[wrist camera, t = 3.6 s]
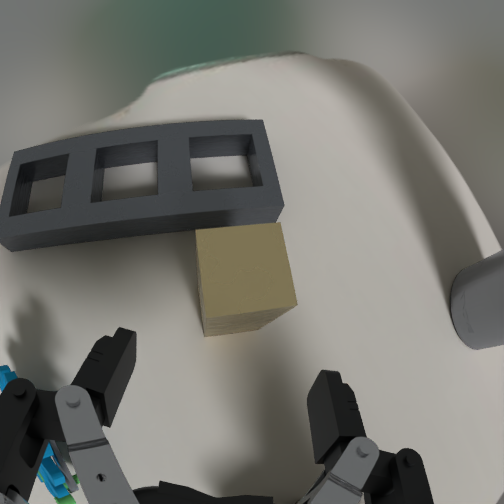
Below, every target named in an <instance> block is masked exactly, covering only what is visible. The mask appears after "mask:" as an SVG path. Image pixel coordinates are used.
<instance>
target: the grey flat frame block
mask: <svg viewBox="0 0 504 504" xmlns="http://www.w3.org/2000/svg"><path fill="white" fill-rule="evenodd" d="M236 155H247V158H248V163H249V168H250V173H251V178H252V183H253V187H242V188H227V189H213V190H201V191H193V188H192V176H191V164H190V158H203V157H218V156H236ZM149 162H158V195H150V196H141V197H133V198H125V199H117V200H109V201H102V190H103V178H104V168H110V167H117V166H124V165H132V164H140V163H149ZM62 175H66V176H65V182H64V188H63V195H62V203H61V208H56V209H50V210H44V211H39V212H33V213H28V214H27V208H28V203H29V197H30V192H31V187H32V182H33V181H37V180H42V179H47V178H51V177H57V176H62ZM283 207H284V201H283V197H282V193H281V189H280V185H279V181H278V177H277V173H276V169H275V165H274V161H273V157H272V153H271V149H270V145H269V141H268V138H267V134H266V130H265V126H264V122H263V120H220V121H200V122H186V123H173V124H163V125H153V126H144V127H136V128H129V129H121V130H115V131H108V132H102V133H96V134H90V135H85V136H80V137H75V138H70V139H65V140H60V141H56V142H51V143H47V144H43V145H38V146H34V147H30V148H27V149H23V150H19V151H16V152H14V154H13V158H12V161H11V164H10V168H9V172H8V175H7V179H6V183H5V187H4V192H3V196H2V201H1V205H0V244H2V245H3V246H4V247H6V248H7V249H8V250H10V251H11V252H14V251H21V250H28V249H36V248H43V247H50V246H58V245H66V244H73V243H81V242H89V241H98V240H106V239H114V238H123V237H132V236H141V235H150V234H159V233H169V232H178V231H188V230H198V229H209V228H219V227H230V226H241V225H253V224H265V223H276V221H277V219H278V217H279V215H280V213H281V211H282V209H283Z"/></svg>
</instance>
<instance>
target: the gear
mask: <svg viewBox="0 0 504 504" xmlns="http://www.w3.org/2000/svg"><path fill="white" fill-rule="evenodd" d="M16 378H17V375H16V373H15V371H12V372H11V370H10V368H9V367H8V365H4V366H0V389H1V391H3V389H4V388H5V386H6V385H7V383H8V382H10V381H11V380H13V379H16ZM50 456H52V457H53V459H54V461H55V463H56V464H55V463H54V462H53V460H52V459H51V457H50ZM37 476H38V478H39V479H40V481H41V482H44V483H45V485H46V487H47V489H48V490H49V492H50V493H51V494H52V495H53V496H54V497H55V498H54V499H55V500H56V502H57V504H76V502H75V500H74V498H73V497H72V496H71V494H70V493H72V492H75V491H77V490H79V489H78V486H77V484H78V483H80V482H79V479H78V477H77V474H75V475H73V476H72V475H71V473H70V471H69V469H68V467H67V465H66V463H65V461H64V459H63V457H62V455H61V453H60V451H59V449H58V447H57V445H56V443H55V440H50V441H49V443H48V446H47V449H46V451H45V454H44V457H43V459H42V462H41V465H40V467H39V470H38V473H37ZM67 490H68V491H69V492H70V493H69V492H68V491H67ZM56 496H57V497H56Z"/></svg>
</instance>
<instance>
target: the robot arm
mask: <svg viewBox="0 0 504 504" xmlns="http://www.w3.org/2000/svg"><path fill="white" fill-rule="evenodd" d="M451 312H452V318H453V322H454V326H455V328H456V330H457V333H458V335H459V336H460V338H461V339H462V341H463V342H464V343H465V344H466V345H467V346H468V347H470V348H472V349H477V350H479V349H484V348H490V347H495V346H500V345H504V249H503V250H501V251H499V252H497V253H495V254H493V255H491V256H489V257H487V258H485V259H483V260H481V261H479V262H477V263H475V264H473V265H471V266H469V267H467V268H465V269H464V270H462V271H461V272H460V273H459V274H458V275H457V276H456V279H455V281H454V283H453V287H452V291H451ZM135 363H136V332H135V331H131V330H128V329H125V328H121V327H119V328H118V329H117V331H116V332H115V334H114V336H113V337H110V336H106V335H105V336H103V337H102V338H101V339H99V340H98V341H96V343H95V344H94V346H93V348H92V349H91V352H90V353H89V354H88V356H87V359H85V361H84V363H83V364H82V366H81V368H80V370H79V371H78V373H77V375H76V377H75V378H74V380H73V382H72V383H71V385H68V386H65V387H63V388H61V389H60V390H59V391H56V392H52V391H43V390H36V389H35V387H34V385H33V384H32V383H31V382H30V381H29V380H27V379H23V378H16V379H13V380H11V381H10V382H8V383H7V385H6V386H5V388H4V389H3V391H2V393H1V395H0V504H29V503H28V500H29V497H30V494H31V491H32V488H33V485H34V482H35V479H36V476H37V473H38V470H39V467H40V465H41V462H42V459H43V457H44V454H45V451H46V449H47V446H48V443H49V441H50V440H55V441H63V442H67V445H68V452H69V455H70V458H71V461H72V463H73V466H74V469H75V472H76V474H77V477H78V479H79V482H80V484H81V487H82V489H83V491H84V494H85V496H86V498H87V501H88V503H89V504H274V503H273V497H264V496H251V495H242V496H233V497H222V498H216V497H212V496H210V495H207V494H204V493H202V492H199V491H197V490H194V489H192V488H190V487H186V486H181V485H177V484H172V483H168V482H163V481H160V482H159V486H150V487H142V488H138V489H135V490H132V489H131V487H130V485H129V484H128V482H127V480H126V478H125V476H124V474H123V472H122V470H121V468H120V466H119V463H118V461H117V459H116V457H115V455H114V453H113V450H112V448H111V446H110V444H109V442H108V440H107V439H106V437H105V435H104V433H103V430H102V426H103V425H104V426H107V427H109V428H110V427H111V425H112V422H113V419H114V417H115V414H116V412H117V409H118V407H119V404H120V402H121V399H122V397H123V394H124V392H125V389H126V387H127V384H128V382H129V380H130V377H131V375H132V373H133V370H134V367H135ZM356 402H357V401H356V398H355V394H354V392H353V390H352V389H351V388H350V387H349V385H348V384H346V383H342V379H341V375H340V373H339V372H338V371H330V370H321V371H320V373H319V375H318V376H317V378H316V380H315V382H314V384H313V386H312V387H311V389H310V391H309V393H308V397H307V407H308V414H309V421H310V428H311V436H312V443H313V450H314V458H315V464H324V466H325V469H324V470H323V472H322V473H321V474H320V476H319V477H318V478H317V480H316V481H315V482H314V484H313V485H312V486H311V487H310V489H309V490H308V491H307V493H306V494H305V495H304V496H303V498H302V499H301V500H300V501H299V502H298V503H297V504H358V503H359V501H360V499H361V497H362V494H363V493H362V492H364V500H365V504H434V502H433V498H432V494H431V490H430V486H429V483H428V479H427V475H426V472H425V468H424V465H423V461H422V458H421V456H420V455H419V454H418V453H417V452H416V451H415V450H413V449H409V448H404V449H401V450H400V451H399V452H398V453H397V454H394V453H390V452H386V451H382V450H379V449H378V446H377V445H376V443H375V442H374V441H372V440H371V439H369V438H367V436H366V433H365V429H364V426H363V422H362V419H361V415H360V412H359V411H358V409H359V408H358V405H357V403H356Z"/></svg>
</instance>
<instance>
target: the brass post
mask: <svg viewBox="0 0 504 504" xmlns="http://www.w3.org/2000/svg"><path fill="white" fill-rule="evenodd" d="M195 232H196V261H197V284H198V292H199V300H200V308H201V315H202V322H203V329H204V336H205V337H209V336H217V335H225V334H232V333H239V332H246V331H253V330H258V329H260V328H262V327H263V326H265V325H267V324H268V323H270V322H271V321H273V320H275V319H276V318H278V317H279V316H281V315H283V314H284V313H286V312H287V311H289V310H291V309H292V308H294V307H295V306H297V300H296V295H295V290H294V285H293V280H292V275H291V270H290V265H289V261H288V256H287V251H286V246H285V242H284V237H283V233H282V228H281V223H280V222H278V223H266V224H254V225H243V226H232V227H221V228H210V229H200V230H195Z"/></svg>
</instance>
